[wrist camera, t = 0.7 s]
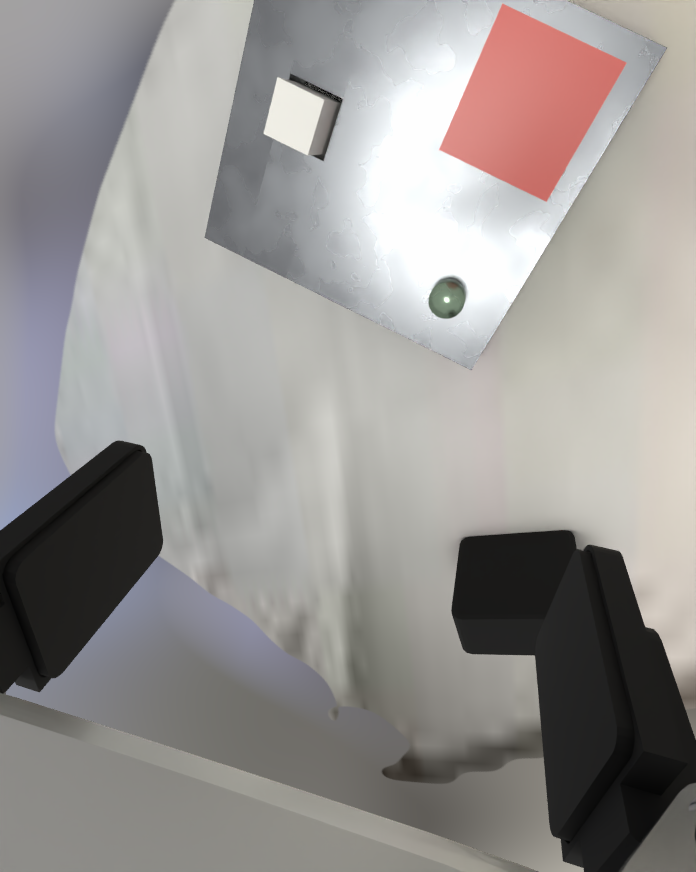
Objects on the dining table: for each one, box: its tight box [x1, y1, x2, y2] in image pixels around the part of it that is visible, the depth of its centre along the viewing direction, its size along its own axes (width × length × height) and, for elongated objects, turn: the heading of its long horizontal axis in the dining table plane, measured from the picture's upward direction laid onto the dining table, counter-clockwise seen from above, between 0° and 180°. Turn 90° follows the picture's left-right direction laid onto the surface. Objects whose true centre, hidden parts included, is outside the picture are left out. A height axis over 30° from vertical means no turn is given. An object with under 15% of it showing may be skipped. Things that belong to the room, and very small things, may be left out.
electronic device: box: [451, 530, 576, 655], centre depth 43 cm, size 4×10×10 cm, turn 108°
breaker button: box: [264, 77, 342, 155], centre depth 31 cm, size 3×3×4 cm
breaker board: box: [205, 0, 667, 370], centre depth 32 cm, size 20×22×4 cm
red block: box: [439, 3, 626, 202], centre depth 26 cm, size 6×6×5 cm
